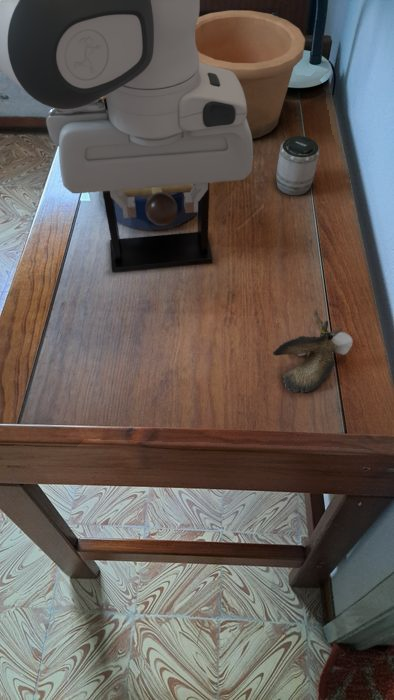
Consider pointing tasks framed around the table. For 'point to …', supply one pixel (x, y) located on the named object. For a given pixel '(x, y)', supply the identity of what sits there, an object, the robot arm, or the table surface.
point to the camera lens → (297, 165)
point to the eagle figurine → (313, 356)
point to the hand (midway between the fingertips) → (160, 211)
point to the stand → (159, 244)
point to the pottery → (253, 58)
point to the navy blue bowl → (142, 218)
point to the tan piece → (160, 202)
